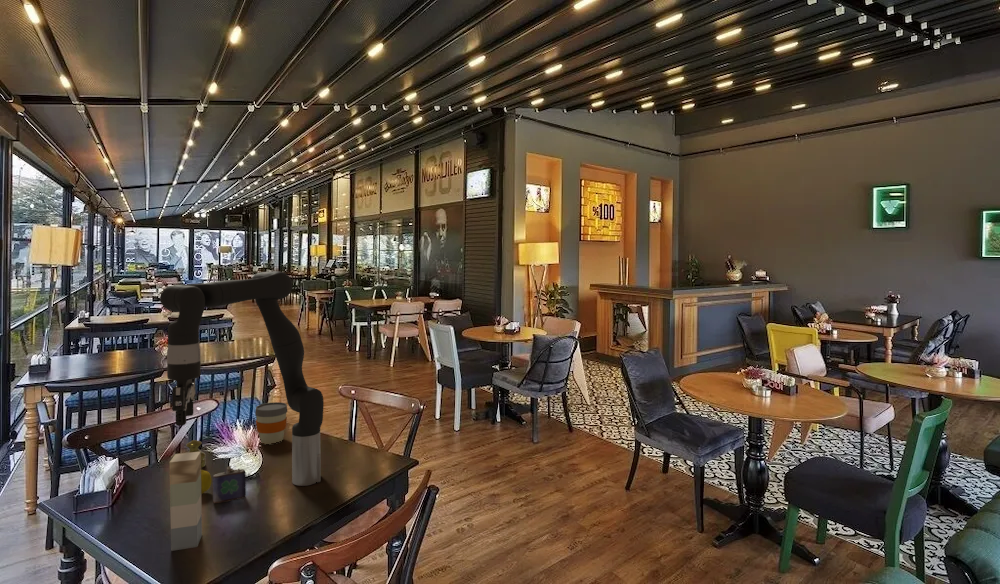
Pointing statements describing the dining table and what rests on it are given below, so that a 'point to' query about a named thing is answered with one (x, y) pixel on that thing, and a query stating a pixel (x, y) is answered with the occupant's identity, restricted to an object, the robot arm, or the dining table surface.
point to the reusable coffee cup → (271, 421)
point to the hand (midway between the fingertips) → (184, 420)
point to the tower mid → (186, 515)
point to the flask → (229, 485)
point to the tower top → (185, 493)
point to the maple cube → (185, 467)
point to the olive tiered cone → (197, 450)
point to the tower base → (186, 536)
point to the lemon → (205, 481)
